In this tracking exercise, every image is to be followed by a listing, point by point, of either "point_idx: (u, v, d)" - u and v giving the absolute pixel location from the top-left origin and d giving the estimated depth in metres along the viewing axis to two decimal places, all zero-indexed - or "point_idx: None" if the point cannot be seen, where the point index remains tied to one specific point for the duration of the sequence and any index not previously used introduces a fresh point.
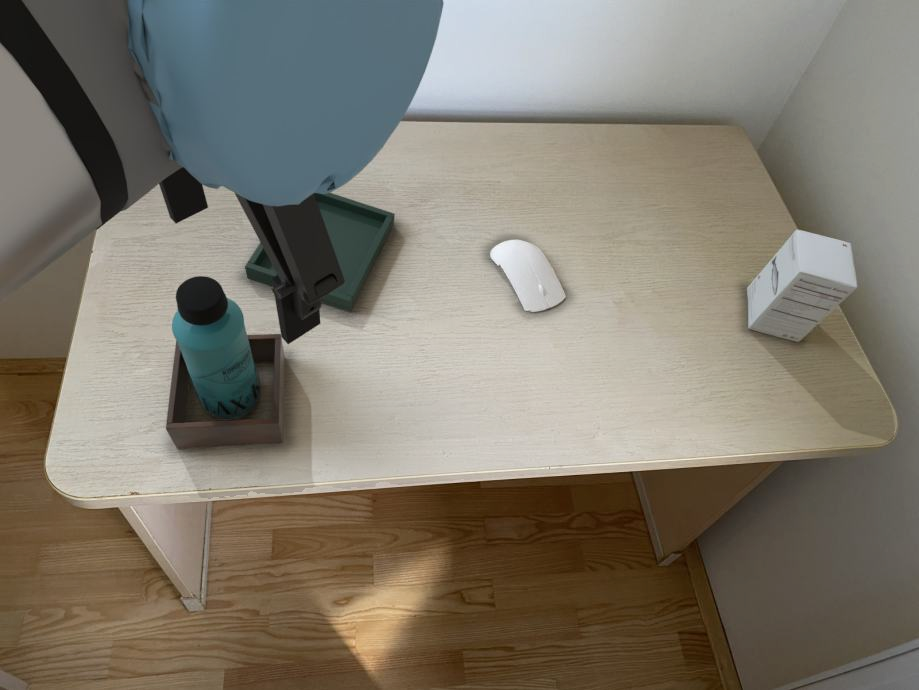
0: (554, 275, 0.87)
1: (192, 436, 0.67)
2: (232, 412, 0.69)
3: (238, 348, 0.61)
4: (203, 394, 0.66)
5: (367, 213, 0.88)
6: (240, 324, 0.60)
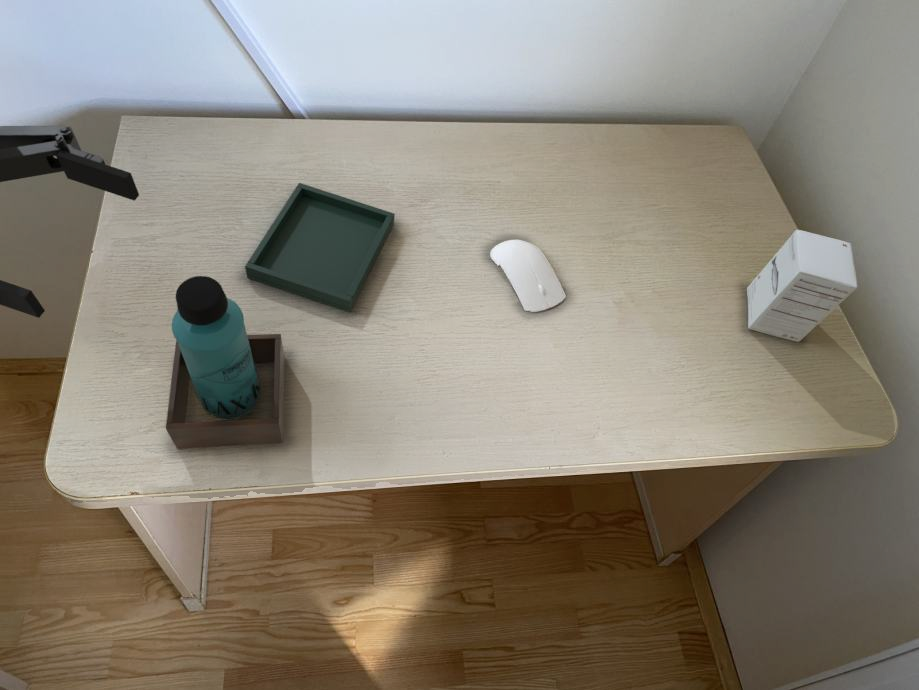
0: (554, 275, 0.87)
1: (192, 436, 0.67)
2: (232, 412, 0.69)
3: (238, 348, 0.61)
4: (203, 394, 0.66)
5: (367, 213, 0.88)
6: (240, 324, 0.60)
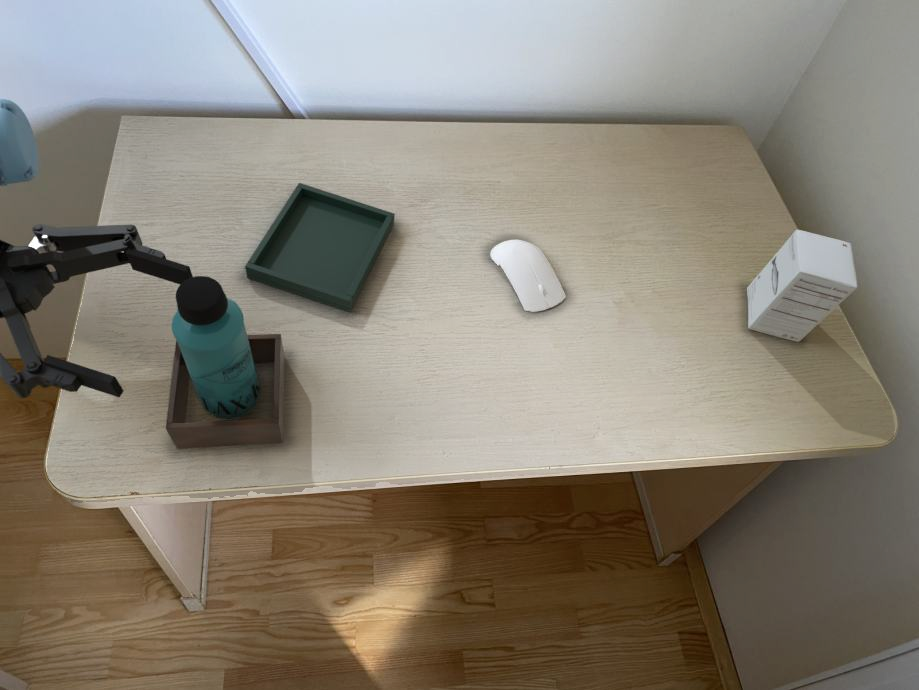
0: (554, 275, 0.87)
1: (192, 436, 0.67)
2: (232, 412, 0.69)
3: (238, 348, 0.61)
4: (203, 394, 0.66)
5: (367, 213, 0.88)
6: (240, 324, 0.60)
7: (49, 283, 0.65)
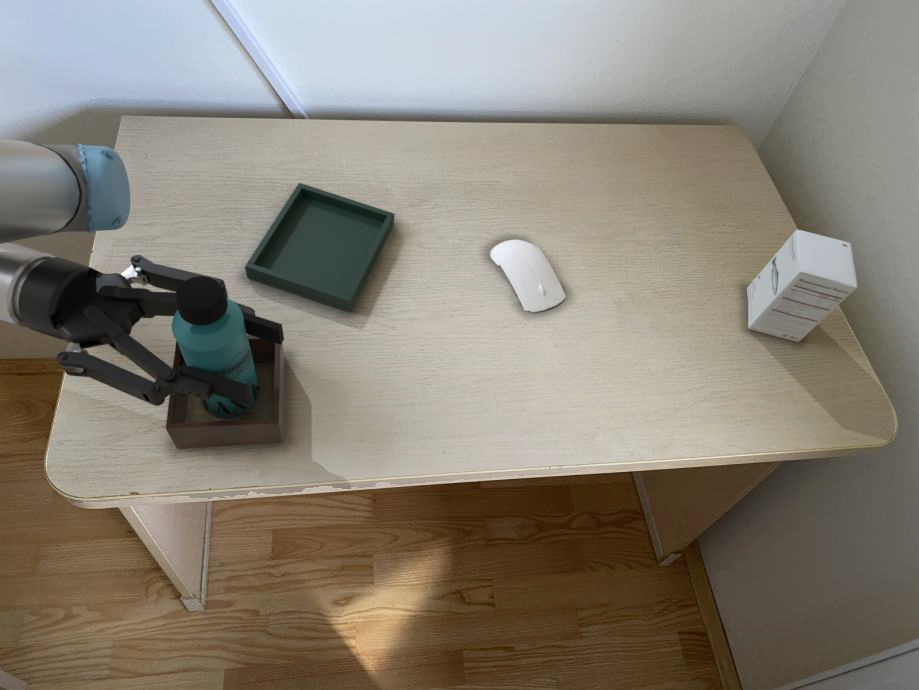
0: (554, 275, 0.87)
1: (192, 436, 0.67)
2: (232, 412, 0.69)
3: (238, 348, 0.61)
4: None
5: (367, 213, 0.88)
6: (240, 324, 0.60)
7: (139, 311, 0.65)
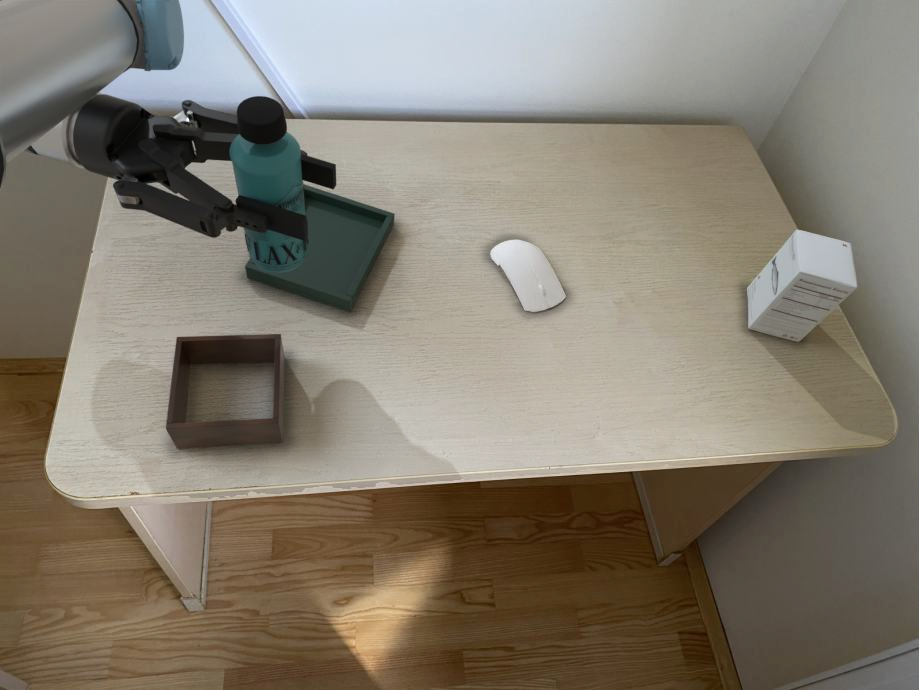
0: (554, 275, 0.87)
1: (192, 436, 0.67)
2: (282, 263, 0.68)
3: (294, 180, 0.61)
4: (255, 238, 0.65)
5: (367, 213, 0.88)
6: (297, 152, 0.60)
7: (191, 152, 0.64)
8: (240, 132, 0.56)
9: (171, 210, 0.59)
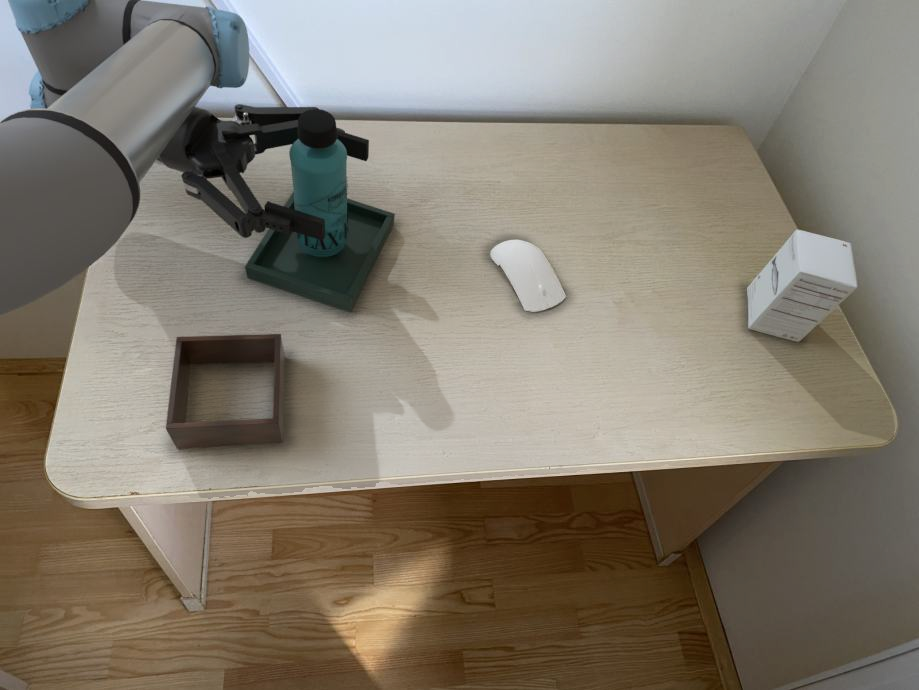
0: (554, 275, 0.87)
1: (192, 436, 0.67)
2: (327, 248, 0.81)
3: (341, 178, 0.73)
4: None
5: (367, 213, 0.88)
6: (345, 155, 0.72)
7: (253, 151, 0.77)
8: (300, 138, 0.69)
9: (217, 206, 0.71)
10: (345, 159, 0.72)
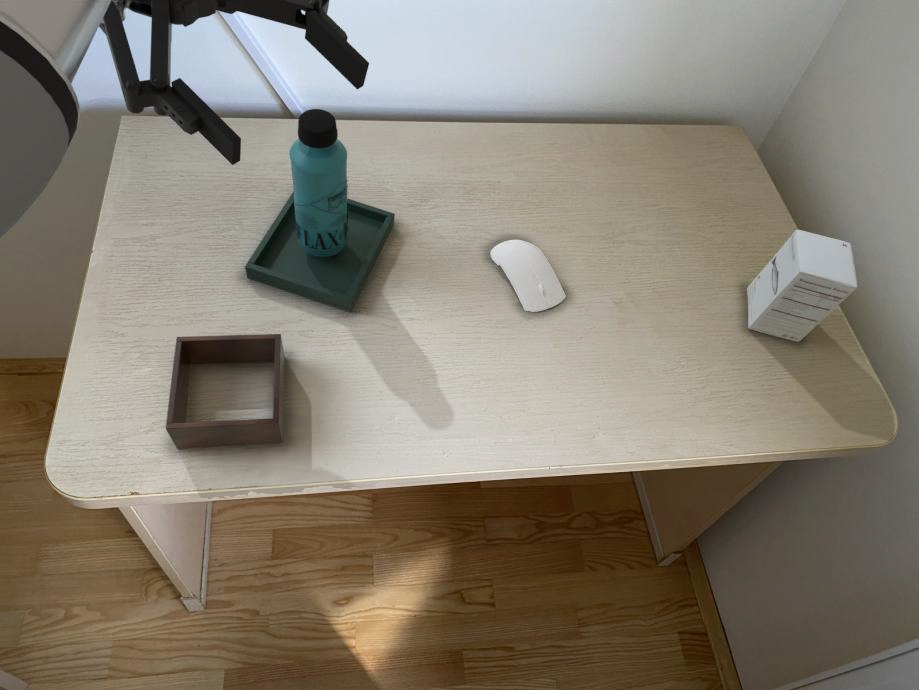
0: (554, 275, 0.87)
1: (192, 436, 0.67)
2: (327, 248, 0.81)
3: (342, 177, 0.73)
4: (306, 227, 0.78)
5: (367, 213, 0.88)
6: (345, 155, 0.72)
7: (212, 5, 0.54)
8: (300, 138, 0.69)
9: (112, 52, 0.49)
10: (345, 159, 0.72)
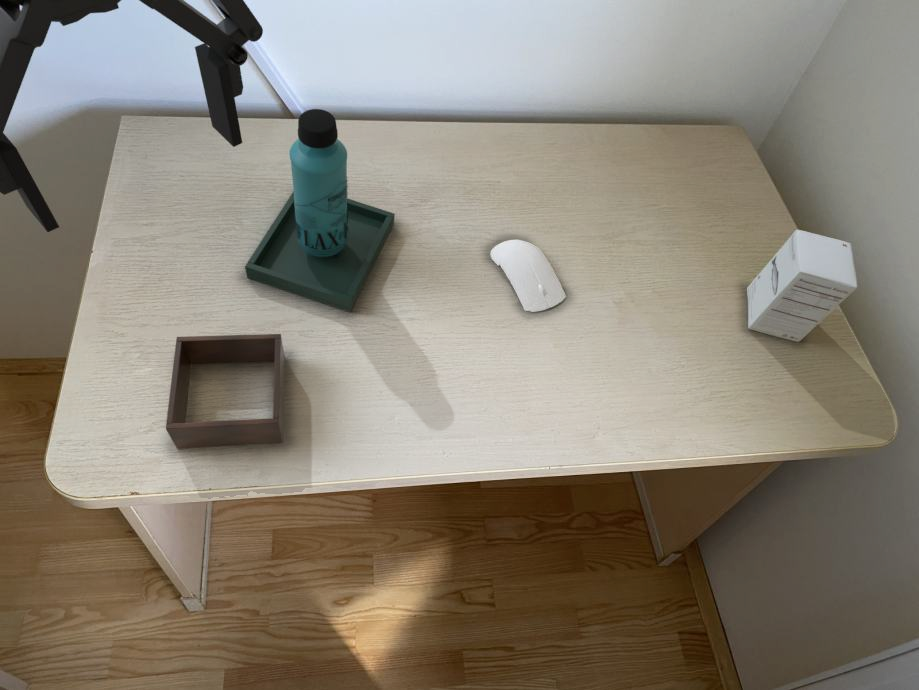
0: (554, 275, 0.87)
1: (192, 436, 0.67)
2: (327, 248, 0.81)
3: (342, 178, 0.73)
4: (306, 227, 0.78)
5: (367, 213, 0.88)
6: (345, 155, 0.72)
7: None
8: (300, 138, 0.69)
9: None
10: (345, 159, 0.72)
